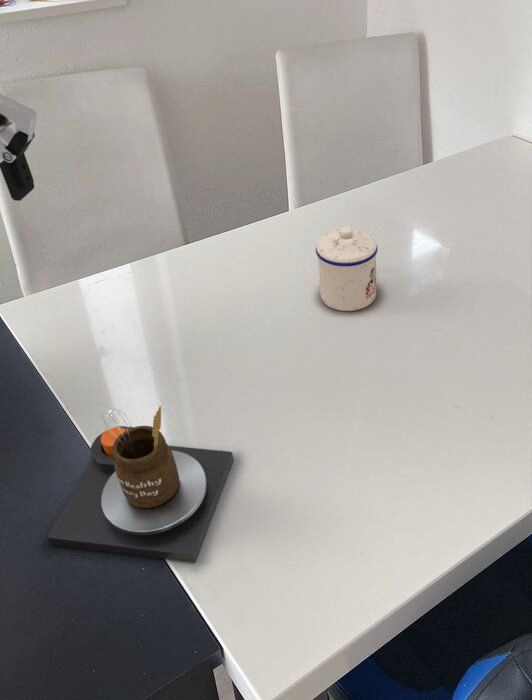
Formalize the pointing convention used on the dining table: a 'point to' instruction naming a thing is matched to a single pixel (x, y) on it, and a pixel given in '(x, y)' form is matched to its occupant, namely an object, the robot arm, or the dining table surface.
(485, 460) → the dining table surface
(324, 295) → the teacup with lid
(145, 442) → the utensil holder
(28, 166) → the robot arm
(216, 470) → the scale
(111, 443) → the tare button
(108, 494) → the brushed metal disc
